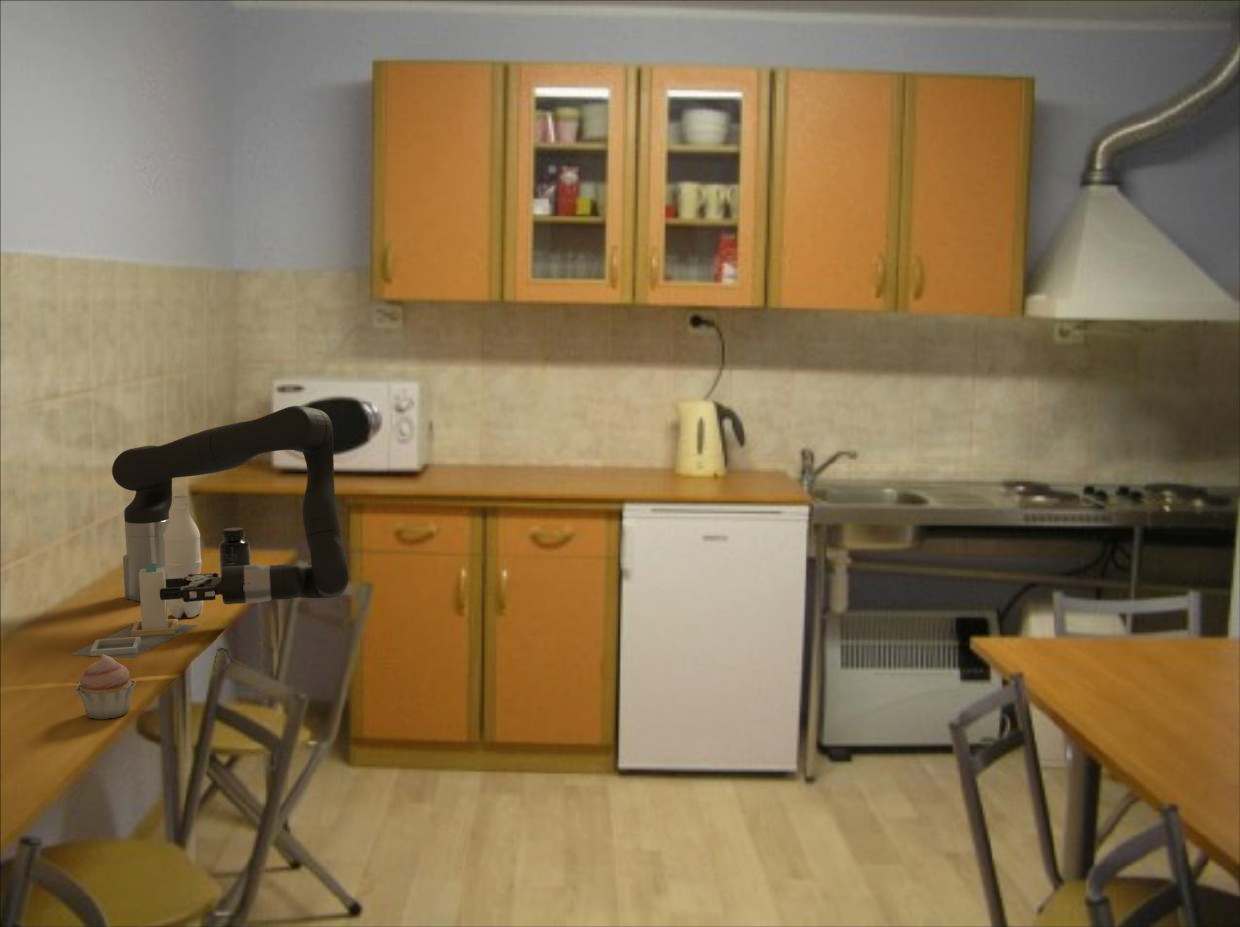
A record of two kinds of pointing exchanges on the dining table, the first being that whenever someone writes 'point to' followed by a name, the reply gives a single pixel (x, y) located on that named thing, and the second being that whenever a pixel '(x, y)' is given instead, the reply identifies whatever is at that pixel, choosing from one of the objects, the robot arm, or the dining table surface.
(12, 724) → the dining table surface
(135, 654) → the panel
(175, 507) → the water bottle
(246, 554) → the supplement bottle
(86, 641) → the dining table surface
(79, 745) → the dining table surface
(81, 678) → the cupcake
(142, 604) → the white tall box
